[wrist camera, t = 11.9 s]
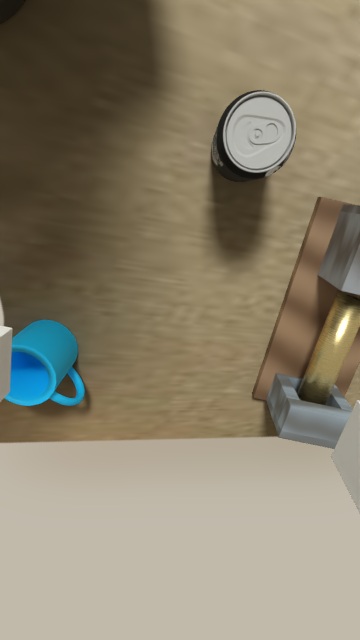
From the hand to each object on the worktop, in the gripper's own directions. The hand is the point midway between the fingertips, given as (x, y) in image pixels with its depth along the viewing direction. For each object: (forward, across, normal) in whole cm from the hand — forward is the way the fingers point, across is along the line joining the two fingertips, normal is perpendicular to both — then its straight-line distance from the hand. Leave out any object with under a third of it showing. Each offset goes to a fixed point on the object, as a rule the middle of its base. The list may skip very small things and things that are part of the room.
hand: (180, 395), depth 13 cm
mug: (+32, -15, -18) cm, 40 cm away
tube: (+29, +19, -8) cm, 36 cm away
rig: (+32, +19, -3) cm, 37 cm away
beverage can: (+32, +3, +12) cm, 34 cm away
